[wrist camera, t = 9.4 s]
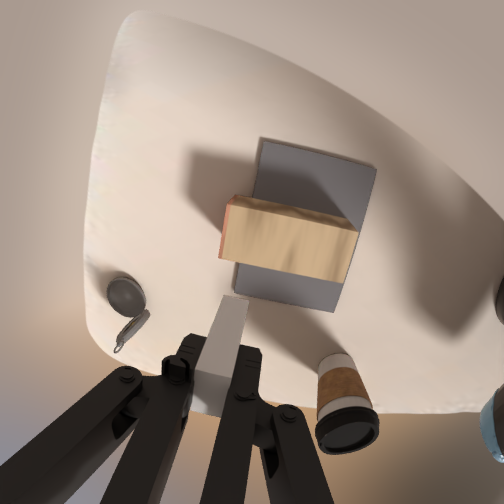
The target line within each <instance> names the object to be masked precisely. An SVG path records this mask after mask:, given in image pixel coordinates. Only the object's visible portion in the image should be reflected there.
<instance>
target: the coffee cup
mask: <svg viewBox="0 0 504 504" xmlns="http://www.w3.org/2000/svg"><path fill="white" fill-rule="evenodd" d="M372 409H373V407H372V403H371V401H370V398H369V396H368V393H367V391H366V389H365V386H364V384H363V382H362V379H361V377H360V375H359V373H358V370H357V368H356V365H355V363H354V361H353V359H352V358H351V357H350V356H348V355H346V354H342V353H337V354H332V355H330V356H327V357H326V358H324V359H323V360H322V361H321V363H320V364H319V367H318V396H317V421H318V423H317V425H316V428H315V436H316V439H317V442H318V446H319V448H320V450H321V451H323V452H324V453H326V454H330V455H339V454H346V453H351V452H355V451H358V450H361V449H363V448H365V447H367V446H369V445H370V444H371V443H373V442H374V441H375V440H376V438H377V437H378V435H379V419H378V415H377V413H376V412H375V411H374V410H372Z"/></svg>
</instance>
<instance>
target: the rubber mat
mask: <svg viewBox="0 0 504 504" xmlns="http://www.w3.org/2000/svg"><path fill="white" fill-rule="evenodd" d="M376 171H377V169H374V168H371V167H367V166H364V165H361V164H357V163H353V162H350V161H346V160H343V159H339V158H335V157H331V156H327V155H323V154H319V153H315V152H311V151H307V150H303V149H298V148H294V147H289V146H285V145H280V144H275V143H270V142H265V141H264V143H263V148H262V153H261V158H260V163H259V168H258V173H257V178H256V183H255V188H254V193H253V198H255V199H260V200H264V201H269V202H274V203H279V204H284V205H288V206H293V207H298V208H302V209H307V210H311V211H316V212H320V213H325V214H329V215H333V216H338V217H342V218H346V219H348V220H349V221H350V223H351V224H352V225H353V226H354V227H355V228H356V230H357V231H358V232H359V234H358V237H357V241H358V238H359V235H360V231H361V228H362V224H363V221H364V217H365V214H366V210H367V206H368V203H369V199H370V195H371V191H372V187H373V183H374V179H375V175H376ZM357 241H356V244H355V247H354V251H355V248H356V245H357ZM354 251H353V254H354ZM353 254H352V257H351V261H352V258H353ZM351 261H350V264H351ZM350 264H349V267H350ZM349 267H348V270H349ZM348 270H347V273H348ZM347 273H346V276H347ZM346 276H345V279H346ZM344 282H345V280H344ZM343 285H344V283H338V282H333V281H328V280H323V279H318V278H313V277H308V276H303V275H298V274H293V273H288V272H283V271H278V270H273V269H268V268H264V267H259V266H254V265H249V264H244V263H240V264H239V269H238V274H237V280H236V285H235V290H234V293H237V294H242V295H246V296H251V297H256V298H260V299H265V300H270V301H275V302H280V303H285V304H290V305H295V306H300V307H305V308H310V309H316V310H321V311H326V312H332V313H334V311H335V308H336V305H337V302H338V300H339V297H340V294H341V291H342V288H343Z"/></svg>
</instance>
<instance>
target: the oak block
mask: <svg viewBox="0 0 504 504" xmlns="http://www.w3.org/2000/svg"><path fill="white" fill-rule="evenodd" d="M358 234H359V232H358V231H357V230H356V228H355V227H354V226H353V225H352V224H351V223H350V221H349V220H348V219H346V218H342V217H338V216H333V215H329V214H325V213H320V212H316V211H311V210H307V209H302V208H298V207H293V206H288V205H284V204H279V203H274V202H269V201H264V200H260V199H255V198H249V197H244V196H239V195H234V197H233V198H232V199H231V200H230V201H229V202H228V203H227V206H226V212H225V218H224V224H223V231H222V237H221V243H220V249H219V256H218V258H220V259H225V260H230V261H234V262H239V263H244V264H249V265H254V266H259V267H264V268H268V269H273V270H278V271H283V272H288V273H293V274H298V275H303V276H308V277H313V278H318V279H323V280H328V281H333V282H338V283H344V280H345V276H346V273H347V270H348V267H349V264H350V261H351V257H352V254H353V251H354V247H355V244H356V241H357V237H358Z"/></svg>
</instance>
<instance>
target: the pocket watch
mask: <svg viewBox="0 0 504 504" xmlns="http://www.w3.org/2000/svg"><path fill="white" fill-rule="evenodd" d="M107 298H108V300H109V303H110V305H111V306H112V307H113V309H114V310H115V311H117V312H118V313H119V314H121V315H123V316H125V317H130V318H131V317H134V318H133V319H132V320H131V321H130V322H129V323H128V324H127V325H126V326H125V327H124V328H123V329H122V331H121V332H120V333H119V335H118V336H117V339H116V342H117V346H116V347H115V349H114V353H118V352H119V351H120V350H121V349H122V347H123V345H124V343H125V342H127V341H128V340H129V339H130V338H131V337H133V335H134V334H135V333H136V332H137V331H138V330H139V329H140V328H141V327H142V326H143V325H144V323H145V322H146V321H147V320H148V318H149V316H150V313H149V311H148V310H147V309H146V310H144V309H145V306H146V298H145V295H144V292H143V290H142V289H141V288H140V286H139V285H138V284H137V283H136V282H134V281H132V280H131V279H128V278H125V277H119V278H116V279H114V280H113V281H111V282H110V284H109V285H108V288H107ZM120 346H121V347H120ZM117 347H120V349H119V350H118V351H116V352H115V350H116V348H117Z"/></svg>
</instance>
